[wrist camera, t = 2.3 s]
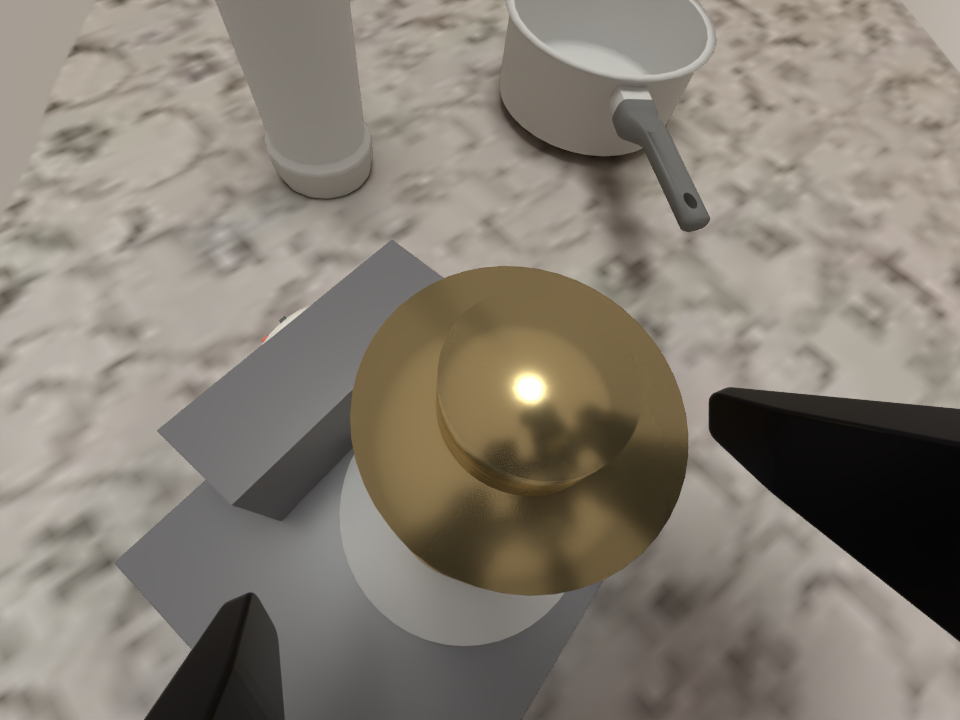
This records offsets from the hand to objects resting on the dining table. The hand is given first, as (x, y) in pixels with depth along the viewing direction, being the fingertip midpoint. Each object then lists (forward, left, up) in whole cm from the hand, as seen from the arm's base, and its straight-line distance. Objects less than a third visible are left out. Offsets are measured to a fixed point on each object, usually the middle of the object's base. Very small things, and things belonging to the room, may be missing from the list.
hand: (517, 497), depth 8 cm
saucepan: (+8, -21, -10) cm, 25 cm away
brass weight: (+1, 0, -7) cm, 7 cm away
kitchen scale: (+2, +2, -10) cm, 10 cm away
